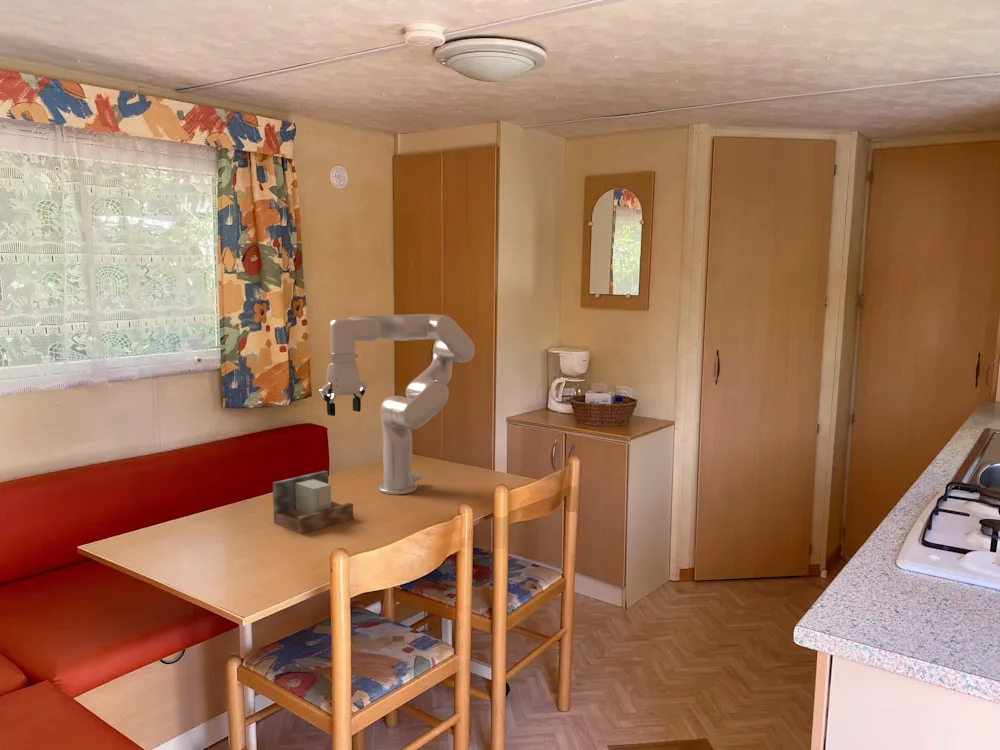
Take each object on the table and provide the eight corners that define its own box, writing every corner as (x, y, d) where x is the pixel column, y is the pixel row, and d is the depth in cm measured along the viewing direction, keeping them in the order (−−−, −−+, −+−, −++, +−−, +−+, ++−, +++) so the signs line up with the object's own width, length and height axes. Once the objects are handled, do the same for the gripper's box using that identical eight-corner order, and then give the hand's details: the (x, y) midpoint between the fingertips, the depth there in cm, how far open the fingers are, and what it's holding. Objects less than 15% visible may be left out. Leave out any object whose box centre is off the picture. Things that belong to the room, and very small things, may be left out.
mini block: (313, 504, 232) (312, 478, 231) (331, 511, 226) (331, 485, 225) (295, 509, 228) (295, 482, 227) (314, 516, 222) (313, 489, 220)
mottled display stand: (325, 508, 238) (324, 470, 237) (353, 518, 229) (352, 479, 228) (273, 522, 225) (272, 482, 223) (301, 533, 216) (300, 492, 214)
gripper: (358, 355, 249) (358, 408, 251) (312, 360, 236) (313, 415, 238) (373, 357, 244) (373, 411, 246) (327, 362, 231) (328, 418, 233)
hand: (344, 413), depth 242 cm, fingers open, 9 cm apart
